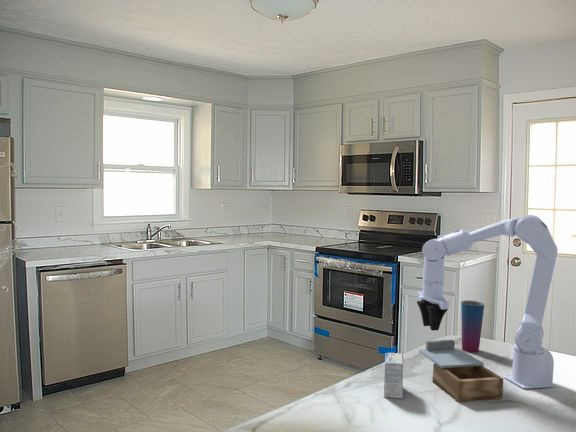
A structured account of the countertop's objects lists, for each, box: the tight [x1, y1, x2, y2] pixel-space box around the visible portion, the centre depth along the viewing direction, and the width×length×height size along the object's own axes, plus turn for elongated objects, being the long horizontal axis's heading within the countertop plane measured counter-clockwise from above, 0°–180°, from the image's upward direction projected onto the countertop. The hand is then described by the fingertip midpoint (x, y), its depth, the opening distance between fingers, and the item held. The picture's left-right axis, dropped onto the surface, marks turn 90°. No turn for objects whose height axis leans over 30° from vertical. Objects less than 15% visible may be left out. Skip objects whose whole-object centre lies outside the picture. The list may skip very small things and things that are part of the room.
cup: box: [460, 299, 485, 354], centre depth 157 cm, size 7×7×15 cm
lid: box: [418, 339, 485, 368], centre depth 134 cm, size 12×12×3 cm
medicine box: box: [383, 352, 404, 400], centre depth 124 cm, size 8×4×9 cm, turn 168°
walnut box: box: [432, 363, 504, 403], centre depth 126 cm, size 12×12×5 cm
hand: (430, 327), depth 144 cm, fingers open, 4 cm apart
